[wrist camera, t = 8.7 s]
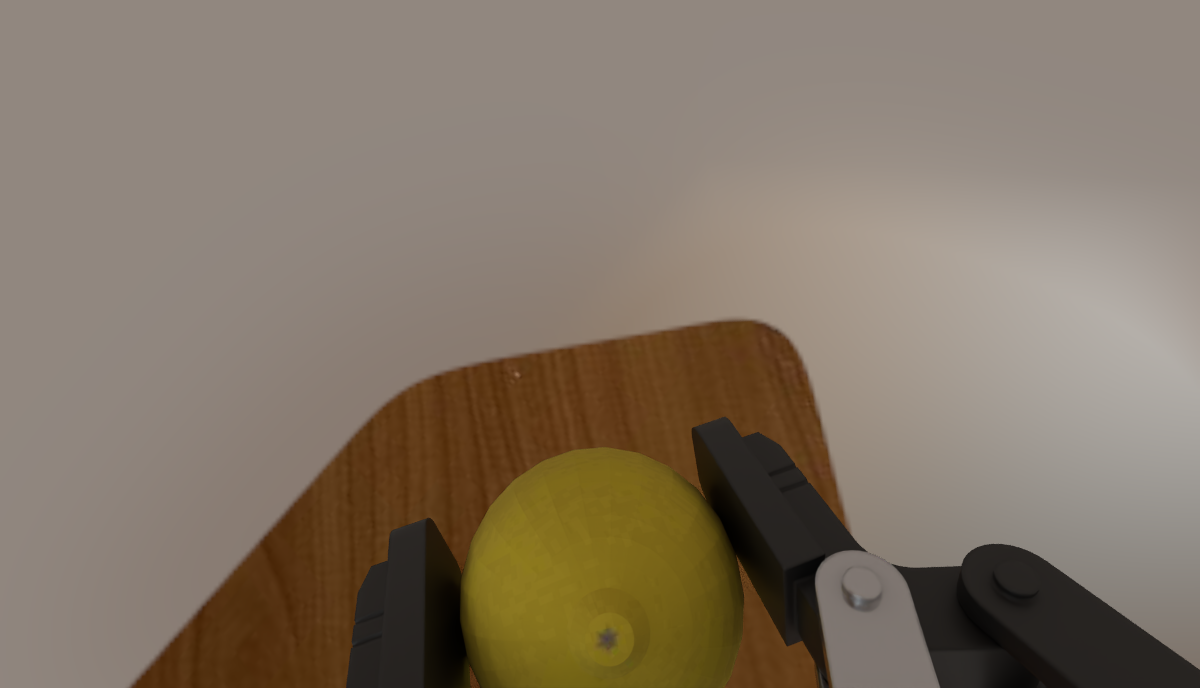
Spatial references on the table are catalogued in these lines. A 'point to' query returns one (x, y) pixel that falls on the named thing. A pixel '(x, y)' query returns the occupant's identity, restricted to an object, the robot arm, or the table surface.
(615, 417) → the table surface
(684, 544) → the lemon
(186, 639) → the table surface
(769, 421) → the table surface
